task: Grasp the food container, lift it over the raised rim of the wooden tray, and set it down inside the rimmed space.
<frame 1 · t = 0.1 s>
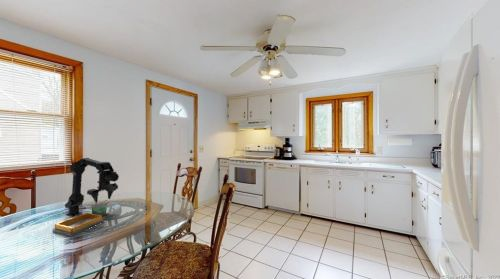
hand: (102, 200, 144), 15 cm above the table, fingers open, 9 cm apart
wooden tray: (79, 226, 133), on the table
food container: (101, 215, 152), on the table
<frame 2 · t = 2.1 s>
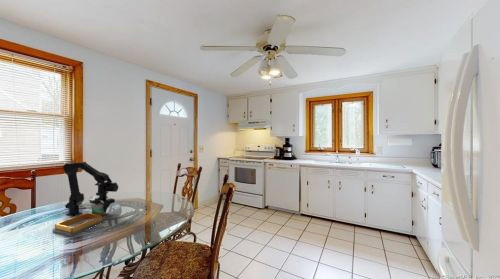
hand: (101, 211, 152), 4 cm above the table, fingers open, 6 cm apart
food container: (101, 215, 152), on the table, touching gripper
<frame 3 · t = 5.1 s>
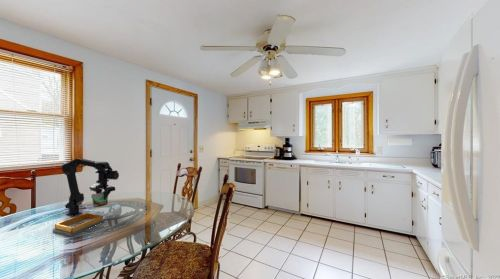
hand: (102, 198, 151), 13 cm above the table, fingers closed on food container, 6 cm apart
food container: (103, 205, 151), point 8 cm above the table, touching gripper
when the fingers open (7 cm above the table, at t = 8.7 s): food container stays where it is, resting on wooden tray.
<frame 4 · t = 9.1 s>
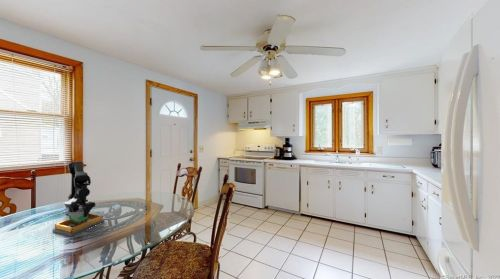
hand: (80, 216, 133), 7 cm above the table, fingers open, 9 cm apart
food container: (81, 224, 133), point 2 cm above the table, touching wooden tray
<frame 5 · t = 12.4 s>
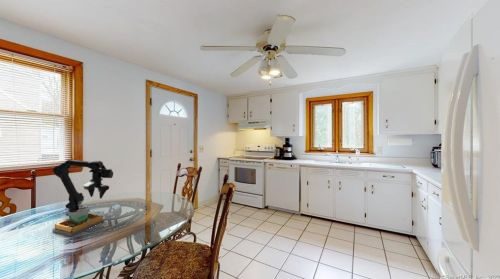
hand: (96, 197, 153), 13 cm above the table, fingers open, 9 cm apart
nothing on the table moved.
at the end: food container inside the target area on the wooden tray (1.2 cm from its centre), point 1.8 cm above the wooden tray's base; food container tilted 0°; the gripper is holding nothing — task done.
